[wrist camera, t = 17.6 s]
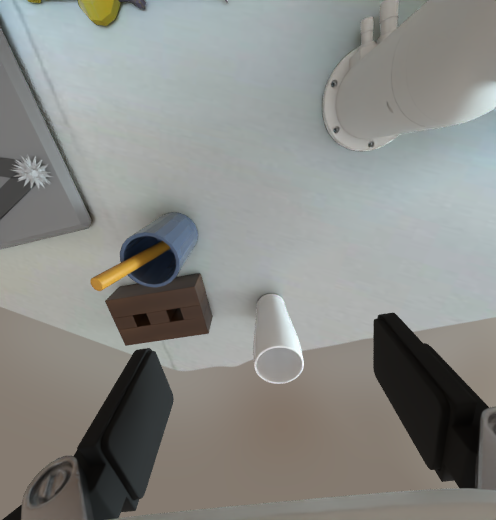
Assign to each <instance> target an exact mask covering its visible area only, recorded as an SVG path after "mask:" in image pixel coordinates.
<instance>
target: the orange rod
mask: <svg viewBox="0 0 496 520" xmlns="http://www.w3.org/2000/svg"><path fill="white" fill-rule="evenodd" d="M169 249H171V248H170V247H169V246H168V245H167V244H166V243H165V242H163V241H161V242H159V243H157V244H155V245H153V246H152V247H150V248H148V249H146V250H144V251H142V252H140V253H138V254H136V255H135V256H133V257H131V258H129V259H127V260H125V261H123V262H121V263H120V264H118V265H116V266H114V267H112V268H110V269H108V270H106V271H105V272H103V273H101V274H99V275H97V276H95V277H93V278H92V279H91V285H92V287H93V288H94V289H95V290H97V291H101V290H103V289H105V288H106V287H108V286H110V285H111V284H113V283H115V282H116V281H118V280H120V279H121V278H123V277H125V276H126V275H128V274H130V273H131V272H133V271H134V270H136V269H138V268H139V267H141V266H143V265H144V264H146V263H148V262H149V261H151V260H153V259H154V258H156V257H158V256H159V255H161V254H163V253H164V252H166V251H168V250H169Z"/></svg>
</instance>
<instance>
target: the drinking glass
mask: <svg viewBox="0 0 496 520" xmlns="http://www.w3.org/2000/svg"><path fill="white" fill-rule="evenodd" d="M256 309H257V313H256V323H255V333H254V344H253V355H254V367H255V371H256V373H257V374H258V376H259V377H260V378H262V379H263V380H265V381H267V382H270V383H275V384H282V383H287V382H290V381H292V380H294V379H295V378H297V377H298V376H299V375H300V373H301V372H302V370H303V367H304V360H303V355H302V350H301V346H300V343H299V339H298V337H297V334H296V331H295V329H294V327H293V324H292V322H291V319H290V317H289V314H288V312H287V309H286V306H285V302H284V300H283V299H282V298H281V297H280V296H278V295H276V294H266V295H264V296H262V297H261V298H260V299H259V300H258V302H257V307H256Z"/></svg>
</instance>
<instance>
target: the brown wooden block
mask: <svg viewBox="0 0 496 520" xmlns="http://www.w3.org/2000/svg"><path fill="white" fill-rule="evenodd" d="M105 302H106V304H107V306H108V308H109V311H110V313H111V315H112V317H113V319H114V322H115V324H116V326H117V328H118V330H119V332H120V335H121V337H122V339H123V341H124V343H125V345H133V344H140V343H146V342H153V341H160V340H167V339H174V338H180V337H187V336H194V335H201V334H208V333H209V329H210V325H211V321H212V313H211V309H210V306H209V302H208V299H207V295H206V292H205V288H204V285H203V281H202V277H201V274H200V273H199V274H193V275H187V276H181V277H175V278H174V279H173V281H172V282H170V283H168V284H167V285H165V286H161V287H146V286H143V285H141V284H133V285H127V286H121V287H119V288H118V289H117V290H116V291H115V292H114V293H113V294H112V295H111V296H110V297H109V298H108V299H107V300H106V301H105Z"/></svg>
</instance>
